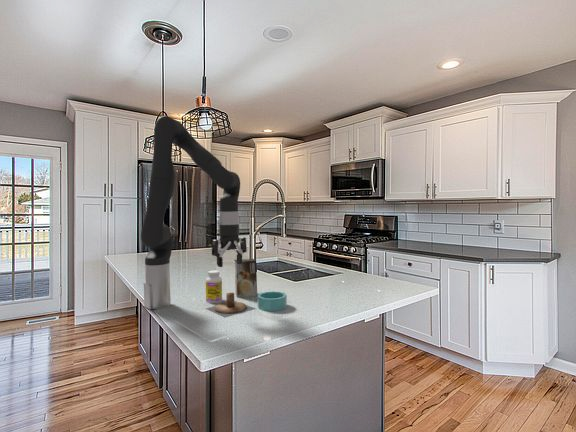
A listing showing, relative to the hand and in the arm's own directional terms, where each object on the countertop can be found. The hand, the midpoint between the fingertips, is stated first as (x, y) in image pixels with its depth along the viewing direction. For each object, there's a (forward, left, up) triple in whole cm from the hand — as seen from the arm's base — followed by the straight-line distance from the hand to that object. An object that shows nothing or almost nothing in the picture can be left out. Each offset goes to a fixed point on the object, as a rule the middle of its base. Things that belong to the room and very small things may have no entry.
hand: (230, 265), depth 126 cm
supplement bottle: (+1, +14, -18) cm, 22 cm away
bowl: (+13, -9, -17) cm, 24 cm away
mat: (0, 0, -17) cm, 17 cm away
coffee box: (+16, +12, -18) cm, 27 cm away
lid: (0, 0, -17) cm, 17 cm away
